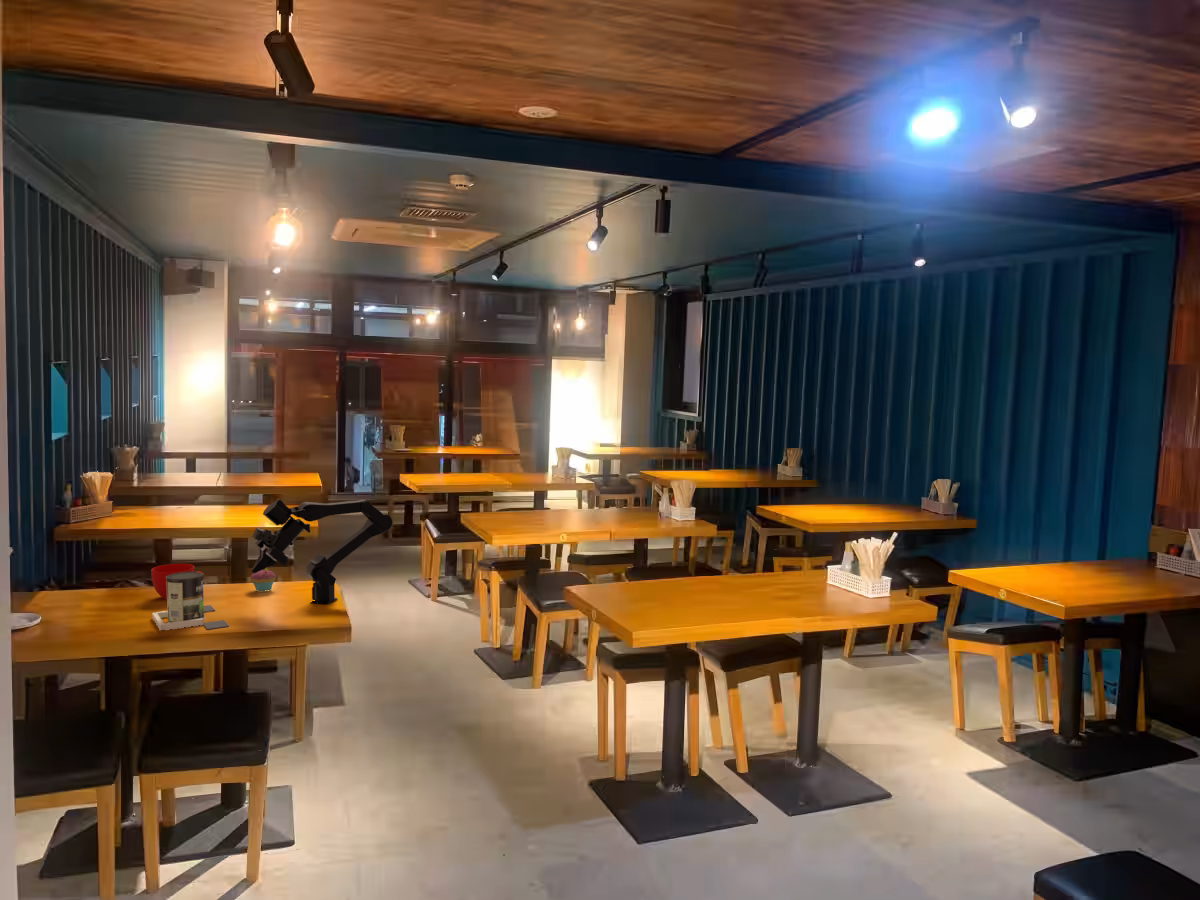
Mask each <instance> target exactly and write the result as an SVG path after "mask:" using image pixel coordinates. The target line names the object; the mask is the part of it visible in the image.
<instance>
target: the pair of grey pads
mask: <svg viewBox="0 0 1200 900" xmlns="http://www.w3.org/2000/svg"><path fill="white" fill-rule="evenodd" d="M210 611H211V612H216V610H215V608H214V606H212V605H211V604H207V605H204V613H210ZM202 626H205V627H204V628H205V629H206V630H208V631H209V630H215V629H223V628H229V626H230V624H228V623H227V622H226V620H224V619H221V620H220V619H219V620H213V621H207V622H203V625H202Z"/></svg>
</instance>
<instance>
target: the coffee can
mask: <svg viewBox="0 0 1200 900" xmlns="http://www.w3.org/2000/svg"><path fill="white" fill-rule="evenodd" d="M200 572H201V571H200ZM200 572H197V571H194V572H180V573H174V574H170V575H168V576H166V583H167V599H166V602H167V605H166V606H167V608H166V609H167V610H166V611H168V617H167V623H171V622H178V621H185V620H193V619H200V618H203V621H205V612H204V606H205V604H204V580H203V574H204V572H202V573H200Z"/></svg>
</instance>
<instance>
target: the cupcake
mask: <svg viewBox="0 0 1200 900" xmlns="http://www.w3.org/2000/svg"><path fill="white" fill-rule="evenodd" d="M276 580H277V575H276V574H275V572H273V571H271V570H269V569H268V567H267V568H265V569H263V570H261V571H259V572H257V573H252V574H251V575H250V578H249V581H250V583H252V584H253V586H254V587H255V591H256V590H258V591H265V590H270V589H271V590H272V588H273V587H272V586H273V584H274V583H275V581H276ZM271 590H270V591H271Z"/></svg>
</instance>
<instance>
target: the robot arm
mask: <svg viewBox="0 0 1200 900" xmlns="http://www.w3.org/2000/svg"><path fill="white" fill-rule="evenodd" d="M357 513H362V515H363V516H364V517H365V518H367V520H366V521H365V523H364V525H363V526H362V527H361V528H360V529H359V530H357V531H356V532H355V533H354V534H352V535H351V536H349V538H347V539H346V540H344V541H343V542H342V543H341V544H340V545H338V546H337V547H336V548H334V549H333V550H332V551H330V552H329V553H327V554H325V555H324V554H321V553H318V554H317V555H316V556H315V557H314V558H311V559H309V560H308V562H309V563H308V564H307V565H306V570H305V572H306V574H307V576H308V577H310V578H311V580H312V582H313V583H312V587H311V599H312V600H315V601H312V602H318V603H317V604H320V603H325V604H324V605H327V604H326V603H328V604H330V603H329V602H331V603H333V602H335V601H337V600H338V598H337V597H335V595H336V594H335V584H336V581H337V578H336V577H335V576H333V575H332V573H333V572H334V571H335V569H336V567H337V566H338V564H339V563H340V562H342V561H343V560H345V559H346V558H347V557H348V556H349V555H350V554H352V553H354V552H355V551H356V550H357V549H359V548H360V547H361V546H362V545H364V544H365V543H366V542H368V541H369V540H370V539H372V538H374V537H376V536H380V535H381V534H383V533H385V532H387V531H389V530H390V529H391V528H392V526H393V519H392V517H391V516H390V515H388V514H386V513H383V512H381V511H380V510H379V509H377V507H375V506H373V504H371V502H370V501H368V500H366V499H359V500H358V499H357V500H350V501H340V502H339V501H338V502H331V503H321V502H313V501H304V502H301V503H300V504H299V505H297V506H293V507H288V506H287V505H286V504H285V503H284V502H283V501H282V500H281V499H279V498H277V499H276V500H275V501H273V502H271V504H268V505H267V507H266V508H265V509H264V510H263V512H262V515H263V516H265V518H266V519H268V520H269V521H270V522H272V523H273V524H274V525H275V526H281V527H280V528H279V529H278V530H274V531H273V532H272V531H271V530H269V529H266V528H265V529H262V528H259V527H256V528H255V530H254V532H253V534H252V536H251V537H252V538H253V539H255V540H256V542H255V543H254V544H255V545H256V546H257V547H258V549H257V550H258V557H257V559H256V561H255V563H254V565H253V567H252V569H251V571H250V572H251V573H252V574H253V573H257V572H259V571H261V570H265V568H267V569H268V568H270V567H271V566H274V565H277V564H278V563H279V564H280V565H282V566H286V564H287V563H288V562H289V557H288V555H286V554H285V551H286V550H287V549H288V548H289V546H291V547H292V546H293V545H294V541H295V540H296V539H297V538H298V537H299V535H300V534H301V533H302V532H303V531H305V532H307V533H311V524H310V522H315V521H318V520H322V519H324V518H326V517H329V516H339V515H347V514H348V515H349V514H357ZM293 516H294V517H296V519H295V518H294V517H293ZM302 520H304V521H306V522H307V523H305V522H304V521H302ZM308 522H309V523H308ZM334 600H335V601H334ZM332 601H333V602H332Z"/></svg>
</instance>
